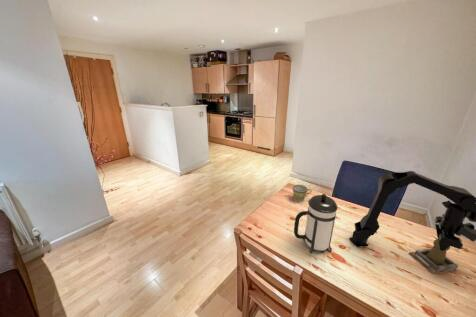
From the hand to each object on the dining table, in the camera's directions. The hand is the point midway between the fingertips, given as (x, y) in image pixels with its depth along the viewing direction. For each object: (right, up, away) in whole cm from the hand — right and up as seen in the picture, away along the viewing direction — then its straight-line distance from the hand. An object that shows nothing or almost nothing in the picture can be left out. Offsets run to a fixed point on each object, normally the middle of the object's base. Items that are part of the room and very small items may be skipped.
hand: (440, 246), depth 89 cm
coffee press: (-52, -6, +14) cm, 54 cm away
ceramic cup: (-46, +9, +54) cm, 71 cm away
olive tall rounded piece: (0, -8, +3) cm, 8 cm away
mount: (-1, -9, +4) cm, 9 cm away
